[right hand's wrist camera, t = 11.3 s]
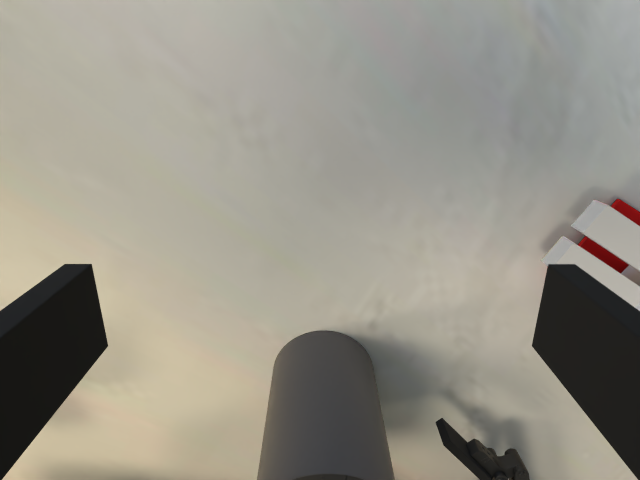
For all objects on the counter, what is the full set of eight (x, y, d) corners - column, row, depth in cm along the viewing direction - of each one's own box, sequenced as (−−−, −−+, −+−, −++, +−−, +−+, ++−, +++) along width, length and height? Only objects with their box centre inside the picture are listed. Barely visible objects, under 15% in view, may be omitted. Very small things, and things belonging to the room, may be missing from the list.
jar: (388, 391, 45) (433, 582, 28) (302, 426, 47) (294, 628, 30) (346, 314, 42) (367, 479, 25) (254, 355, 44) (215, 536, 26)
